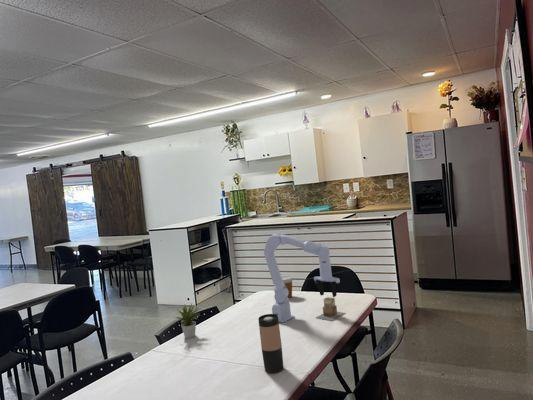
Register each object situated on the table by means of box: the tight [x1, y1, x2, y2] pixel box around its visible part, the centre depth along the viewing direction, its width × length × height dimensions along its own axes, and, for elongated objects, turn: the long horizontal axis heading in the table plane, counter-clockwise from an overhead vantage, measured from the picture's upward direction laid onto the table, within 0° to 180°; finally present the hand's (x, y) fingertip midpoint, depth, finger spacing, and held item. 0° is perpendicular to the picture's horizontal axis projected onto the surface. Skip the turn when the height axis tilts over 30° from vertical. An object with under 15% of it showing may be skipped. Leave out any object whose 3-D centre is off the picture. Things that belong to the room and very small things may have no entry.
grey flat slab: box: [315, 311, 346, 322], centre depth 200 cm, size 12×10×1 cm
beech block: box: [322, 296, 336, 308], centre depth 200 cm, size 4×4×4 cm
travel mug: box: [257, 313, 284, 375], centre depth 148 cm, size 8×8×20 cm
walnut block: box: [322, 304, 338, 317], centre depth 200 cm, size 5×5×4 cm
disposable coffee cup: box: [281, 275, 293, 299], centre depth 243 cm, size 10×10×12 cm
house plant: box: [175, 303, 202, 339], centre depth 193 cm, size 14×14×16 cm
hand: (328, 295), depth 200 cm, fingers open, 7 cm apart
